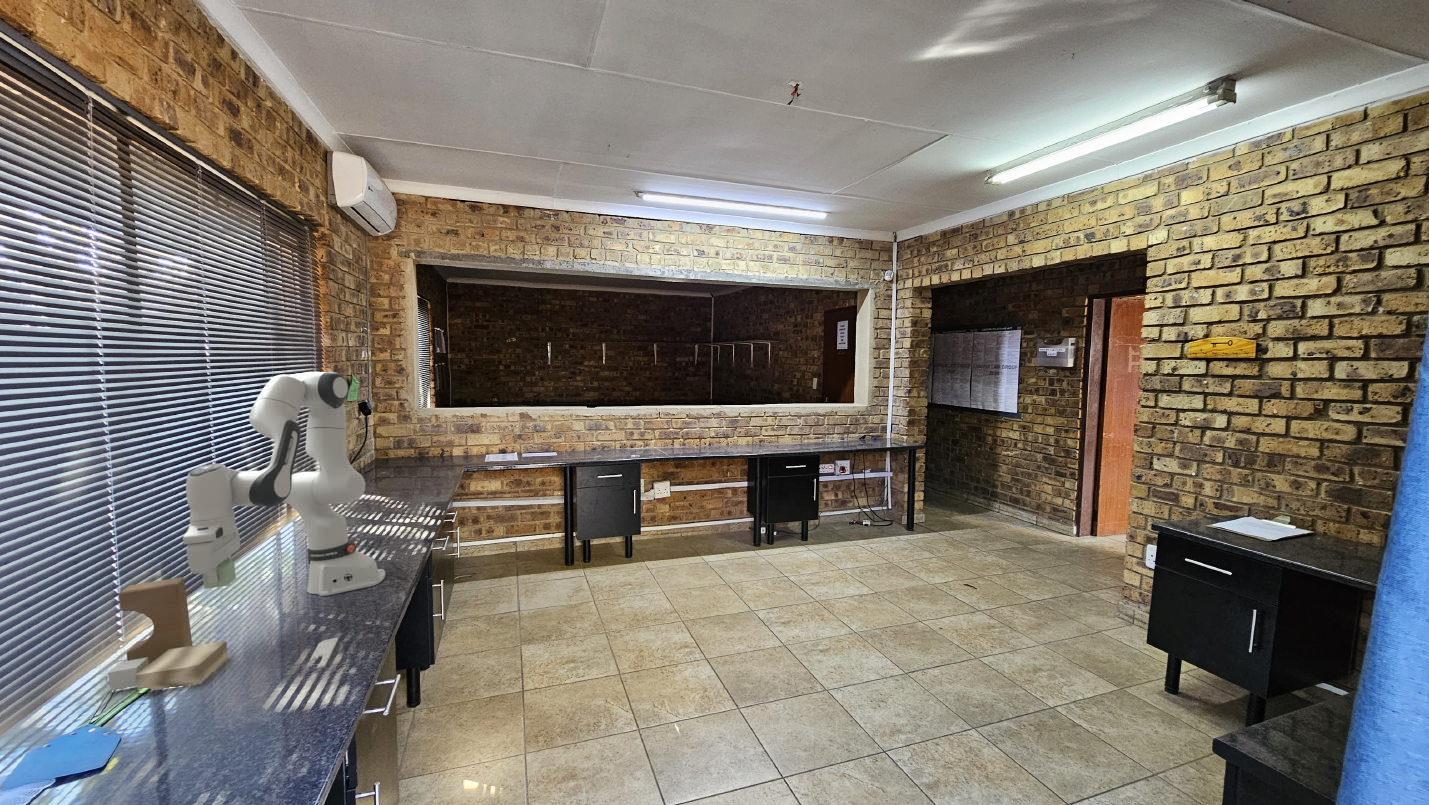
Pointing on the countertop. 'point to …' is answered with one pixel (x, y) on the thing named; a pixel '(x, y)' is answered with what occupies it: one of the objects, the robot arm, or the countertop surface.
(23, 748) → the countertop surface
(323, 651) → the white plastic strip tool
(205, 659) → the pale maple block
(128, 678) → the grey plastic cube
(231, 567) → the sage green cube
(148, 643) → the decorative block
